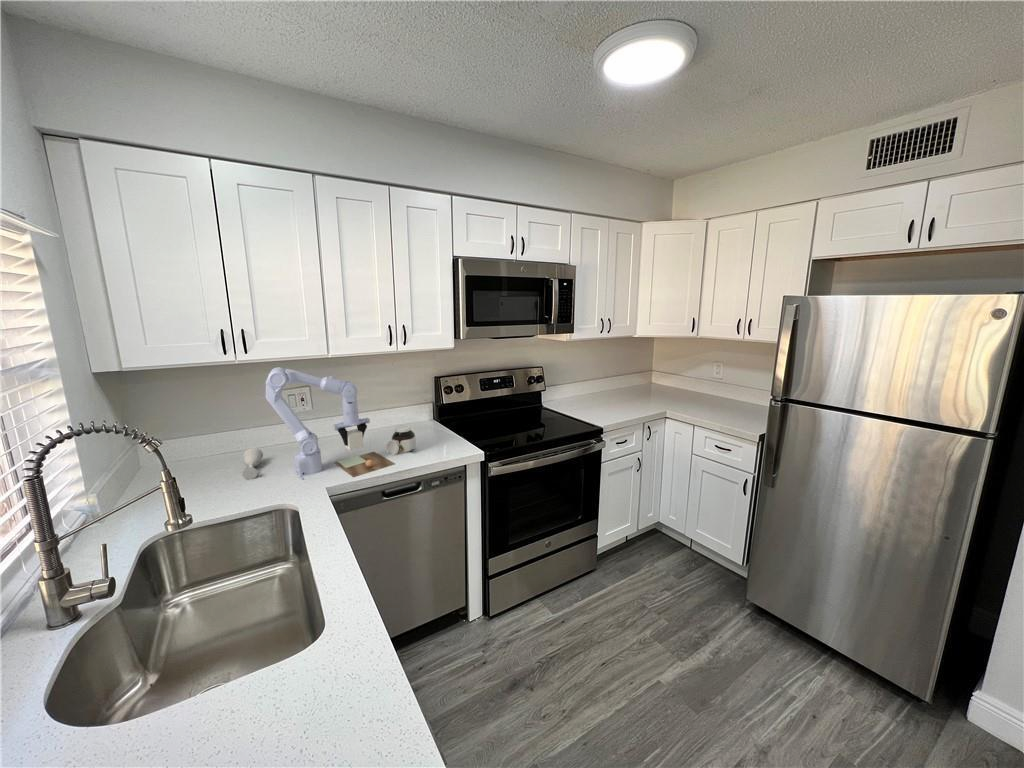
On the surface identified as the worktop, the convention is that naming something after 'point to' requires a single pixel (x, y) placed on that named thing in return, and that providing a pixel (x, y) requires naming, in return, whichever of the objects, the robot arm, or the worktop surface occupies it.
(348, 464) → the sage pad
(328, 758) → the worktop surface
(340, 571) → the worktop surface
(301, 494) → the worktop surface
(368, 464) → the terracotta ball
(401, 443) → the spread jar
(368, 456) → the walnut board
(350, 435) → the rounded beige cube
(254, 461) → the chalice
